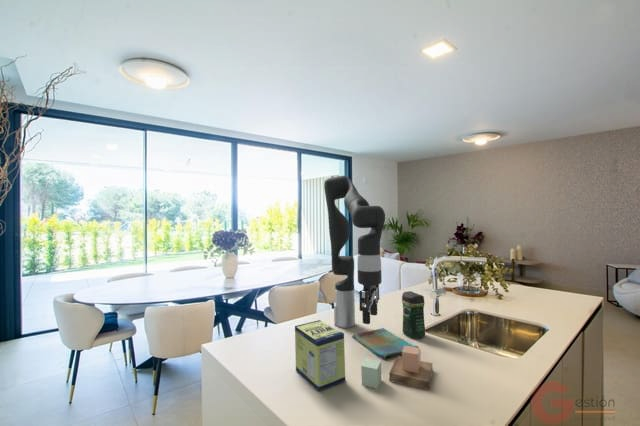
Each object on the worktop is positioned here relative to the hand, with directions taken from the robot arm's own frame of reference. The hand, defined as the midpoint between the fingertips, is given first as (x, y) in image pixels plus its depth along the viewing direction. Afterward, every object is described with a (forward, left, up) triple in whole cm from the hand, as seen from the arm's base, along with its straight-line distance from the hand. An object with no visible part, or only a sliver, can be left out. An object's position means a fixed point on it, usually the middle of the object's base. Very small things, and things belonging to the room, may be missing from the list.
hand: (370, 319), depth 95 cm
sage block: (0, 0, -20) cm, 20 cm away
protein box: (-17, -3, -20) cm, 27 cm away
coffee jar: (+7, +43, -20) cm, 48 cm away
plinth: (+11, +9, -20) cm, 25 cm away
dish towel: (-3, +29, -21) cm, 36 cm away
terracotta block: (+11, +9, -18) cm, 23 cm away
